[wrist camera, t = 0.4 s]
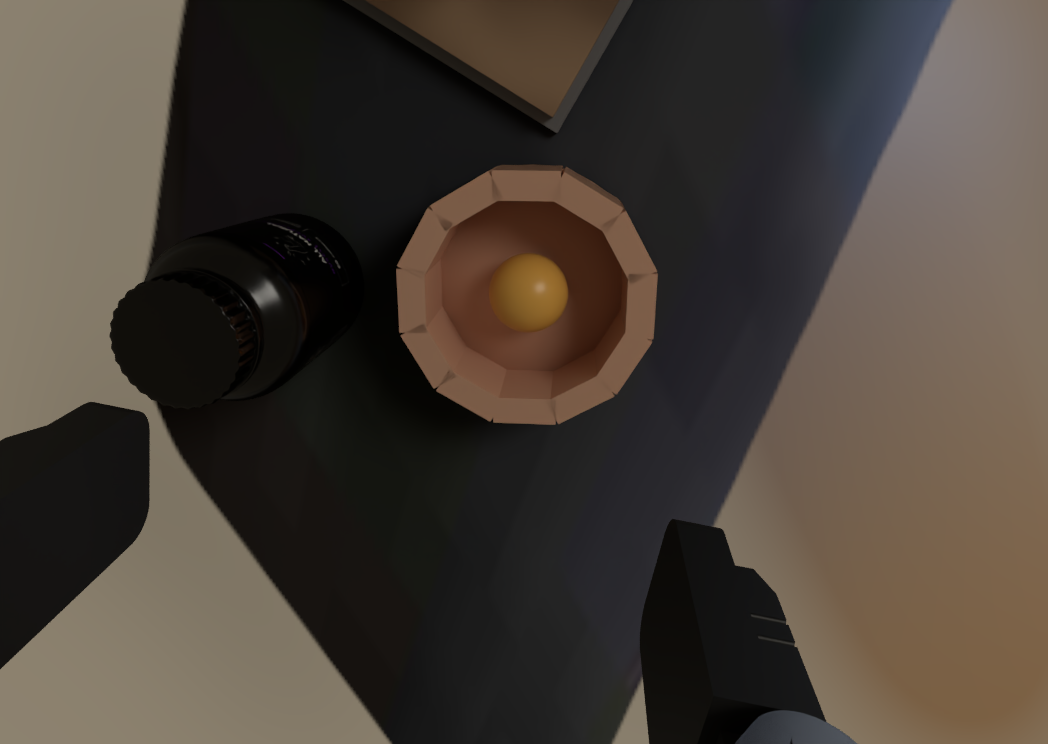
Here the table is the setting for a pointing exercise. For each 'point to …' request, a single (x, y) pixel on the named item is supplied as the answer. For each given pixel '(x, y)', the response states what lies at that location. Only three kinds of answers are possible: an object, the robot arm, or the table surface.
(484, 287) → the bowl
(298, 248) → the supplement bottle
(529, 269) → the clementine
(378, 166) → the table surface
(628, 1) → the mat
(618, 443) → the table surface
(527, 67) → the lid
